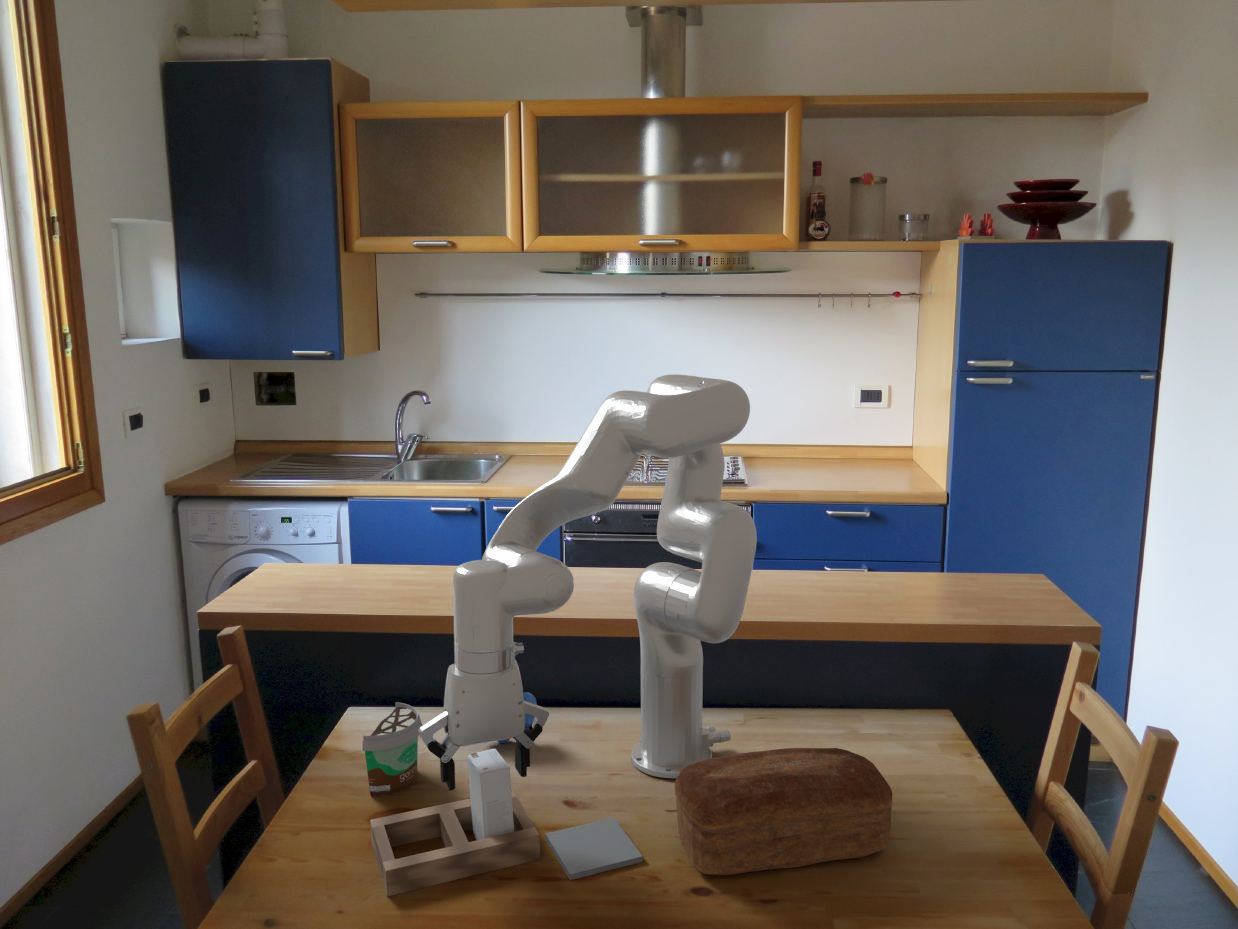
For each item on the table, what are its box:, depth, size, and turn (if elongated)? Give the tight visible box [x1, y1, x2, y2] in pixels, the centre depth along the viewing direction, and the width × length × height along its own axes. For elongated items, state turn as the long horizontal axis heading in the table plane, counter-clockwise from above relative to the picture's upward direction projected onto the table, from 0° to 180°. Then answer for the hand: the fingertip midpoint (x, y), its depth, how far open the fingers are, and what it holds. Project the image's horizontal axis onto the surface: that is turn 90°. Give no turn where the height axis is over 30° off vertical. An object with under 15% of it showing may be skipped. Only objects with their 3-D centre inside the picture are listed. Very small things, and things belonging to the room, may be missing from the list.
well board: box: [369, 788, 541, 897], centre depth 132 cm, size 20×12×4 cm, turn 112°
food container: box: [362, 701, 423, 797], centre depth 150 cm, size 12×6×10 cm, turn 168°
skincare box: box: [466, 748, 514, 841], centre depth 133 cm, size 6×4×12 cm
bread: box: [674, 747, 893, 876], centre depth 132 cm, size 14×28×12 cm, turn 102°
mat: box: [544, 817, 644, 881], centre depth 133 cm, size 10×10×1 cm
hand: (485, 779), depth 132 cm, fingers open, 9 cm apart
